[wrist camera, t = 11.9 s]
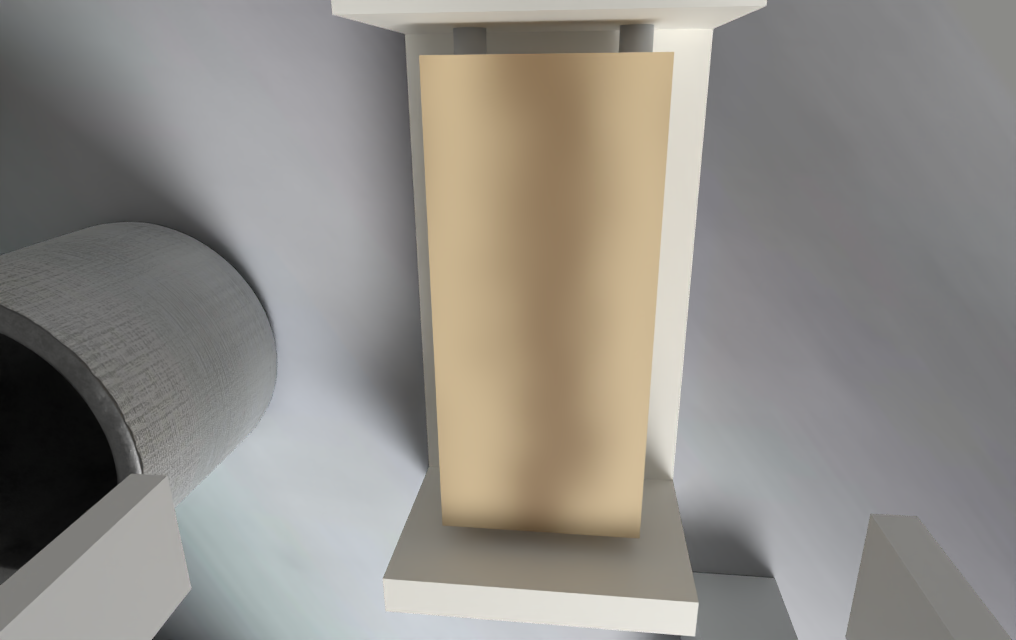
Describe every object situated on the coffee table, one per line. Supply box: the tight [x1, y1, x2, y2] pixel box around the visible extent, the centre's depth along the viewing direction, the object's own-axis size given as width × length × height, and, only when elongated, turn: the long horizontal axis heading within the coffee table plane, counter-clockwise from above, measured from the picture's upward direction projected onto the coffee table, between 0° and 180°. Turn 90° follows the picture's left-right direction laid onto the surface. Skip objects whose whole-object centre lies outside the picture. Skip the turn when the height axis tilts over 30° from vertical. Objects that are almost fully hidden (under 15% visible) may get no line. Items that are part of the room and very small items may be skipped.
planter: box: [0, 222, 277, 585], centre depth 28 cm, size 13×12×11 cm
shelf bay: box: [331, 0, 767, 636], centre depth 26 cm, size 12×23×9 cm, turn 0°
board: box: [419, 52, 674, 538], centre depth 25 cm, size 8×18×3 cm, turn 0°
